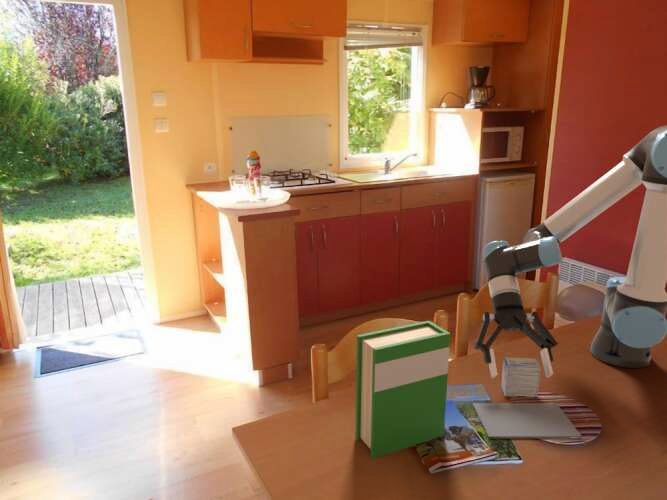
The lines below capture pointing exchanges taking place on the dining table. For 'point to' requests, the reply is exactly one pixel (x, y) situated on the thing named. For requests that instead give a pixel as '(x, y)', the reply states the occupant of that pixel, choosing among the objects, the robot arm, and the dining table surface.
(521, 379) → the medicine box
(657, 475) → the dining table surface
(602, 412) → the dining table surface
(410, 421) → the hardback book
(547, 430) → the mat
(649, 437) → the dining table surface
